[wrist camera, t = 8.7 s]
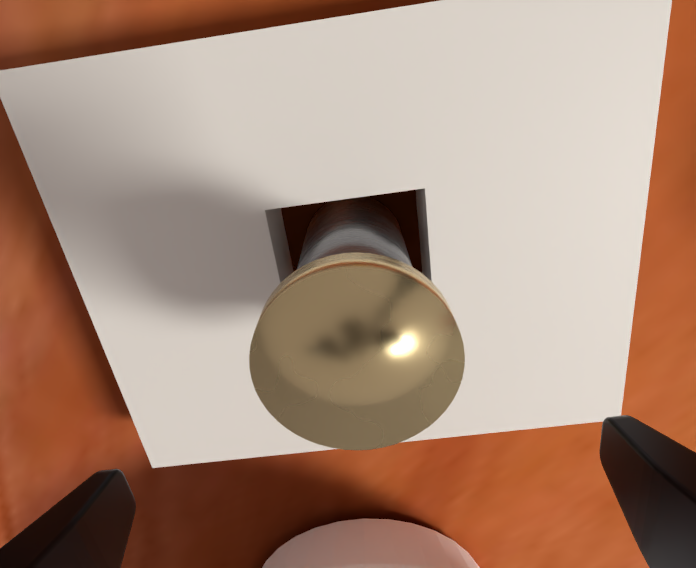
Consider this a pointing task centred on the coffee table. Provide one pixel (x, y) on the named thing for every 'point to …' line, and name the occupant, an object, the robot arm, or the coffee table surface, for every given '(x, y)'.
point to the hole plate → (352, 182)
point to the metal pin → (356, 336)
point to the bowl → (370, 547)
